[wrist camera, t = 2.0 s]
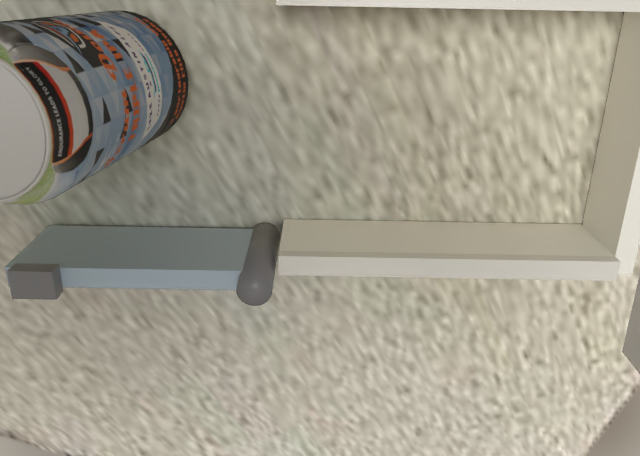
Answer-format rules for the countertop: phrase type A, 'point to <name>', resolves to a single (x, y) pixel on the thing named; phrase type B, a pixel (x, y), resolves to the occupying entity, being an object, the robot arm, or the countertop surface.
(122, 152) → the beverage can
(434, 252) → the grey low-walled frame
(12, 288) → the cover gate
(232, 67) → the countertop surface
